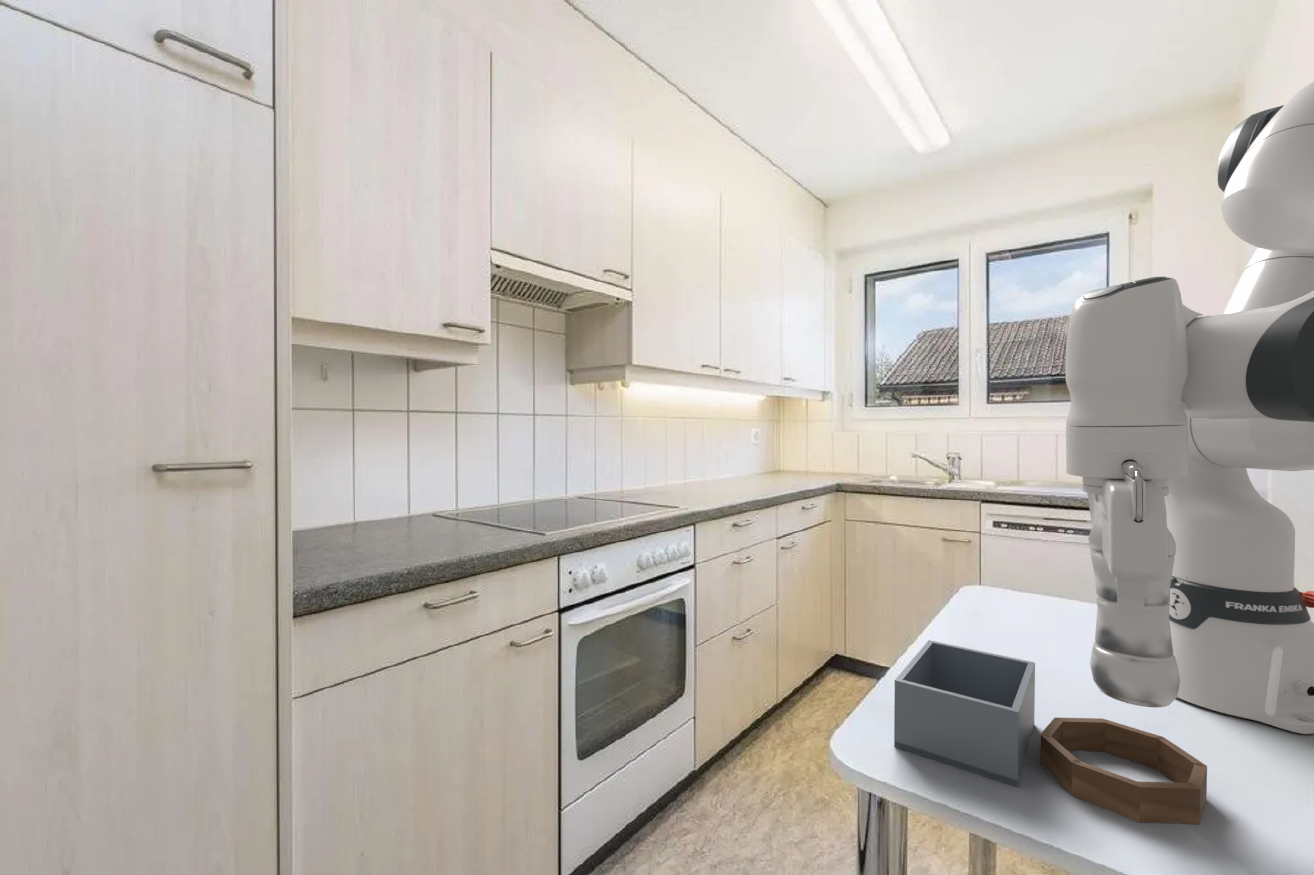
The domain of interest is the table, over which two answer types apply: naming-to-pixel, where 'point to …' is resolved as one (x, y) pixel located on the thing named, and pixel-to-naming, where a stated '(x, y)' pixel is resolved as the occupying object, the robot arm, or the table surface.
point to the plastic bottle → (1133, 637)
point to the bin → (966, 709)
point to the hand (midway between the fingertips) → (1125, 604)
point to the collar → (1114, 790)
